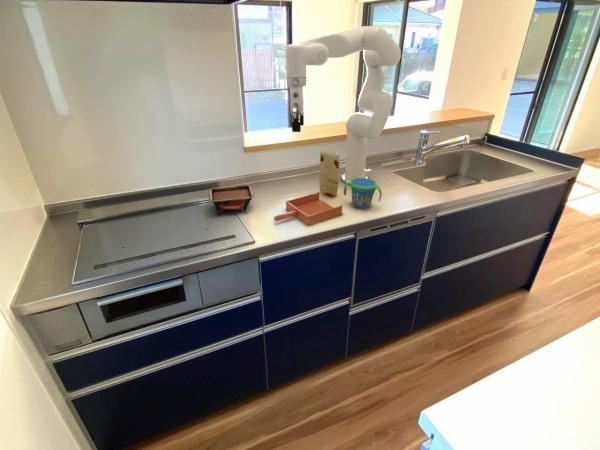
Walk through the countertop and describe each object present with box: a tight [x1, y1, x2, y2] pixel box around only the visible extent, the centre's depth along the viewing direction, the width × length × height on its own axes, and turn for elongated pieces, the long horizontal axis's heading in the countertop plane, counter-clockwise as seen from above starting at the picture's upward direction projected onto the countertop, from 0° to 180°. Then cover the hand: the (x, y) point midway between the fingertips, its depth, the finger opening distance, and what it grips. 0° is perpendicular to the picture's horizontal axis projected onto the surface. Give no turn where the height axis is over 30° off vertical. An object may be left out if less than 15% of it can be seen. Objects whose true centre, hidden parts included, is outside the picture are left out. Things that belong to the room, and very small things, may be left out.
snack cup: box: [343, 178, 383, 209], centre depth 142 cm, size 16×10×10 cm
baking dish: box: [208, 184, 255, 216], centre depth 142 cm, size 14×18×10 cm
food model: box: [318, 150, 340, 198], centre depth 149 cm, size 10×7×20 cm
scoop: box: [273, 191, 343, 226], centre depth 136 cm, size 26×16×4 cm, turn 123°
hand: (298, 128), depth 135 cm, fingers open, 9 cm apart
